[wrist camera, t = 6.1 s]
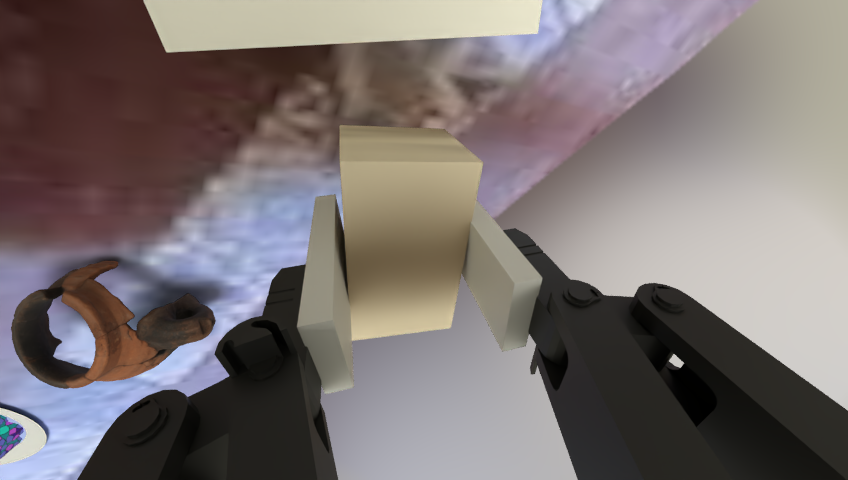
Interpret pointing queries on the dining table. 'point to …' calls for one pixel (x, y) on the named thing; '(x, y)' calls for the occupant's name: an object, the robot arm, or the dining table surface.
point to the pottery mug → (103, 330)
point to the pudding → (5, 437)
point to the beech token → (405, 226)
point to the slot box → (332, 21)
